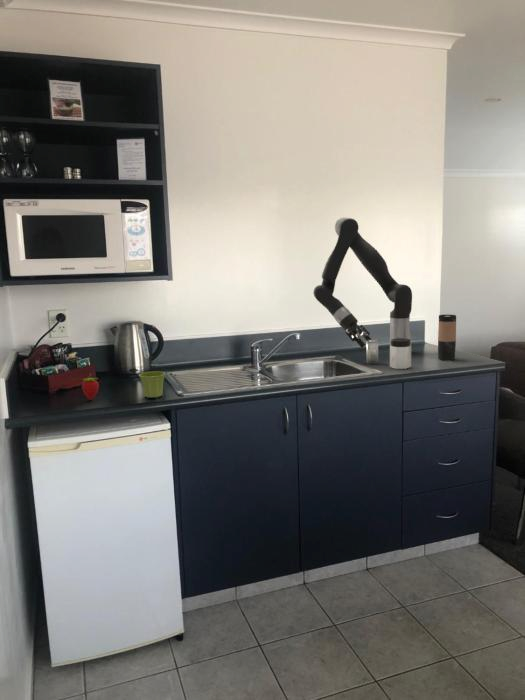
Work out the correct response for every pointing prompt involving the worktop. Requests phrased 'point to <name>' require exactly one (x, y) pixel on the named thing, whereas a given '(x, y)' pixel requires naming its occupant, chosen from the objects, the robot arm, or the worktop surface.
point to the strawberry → (90, 387)
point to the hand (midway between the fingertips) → (368, 345)
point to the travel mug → (446, 337)
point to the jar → (400, 353)
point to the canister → (372, 351)
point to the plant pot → (152, 383)
